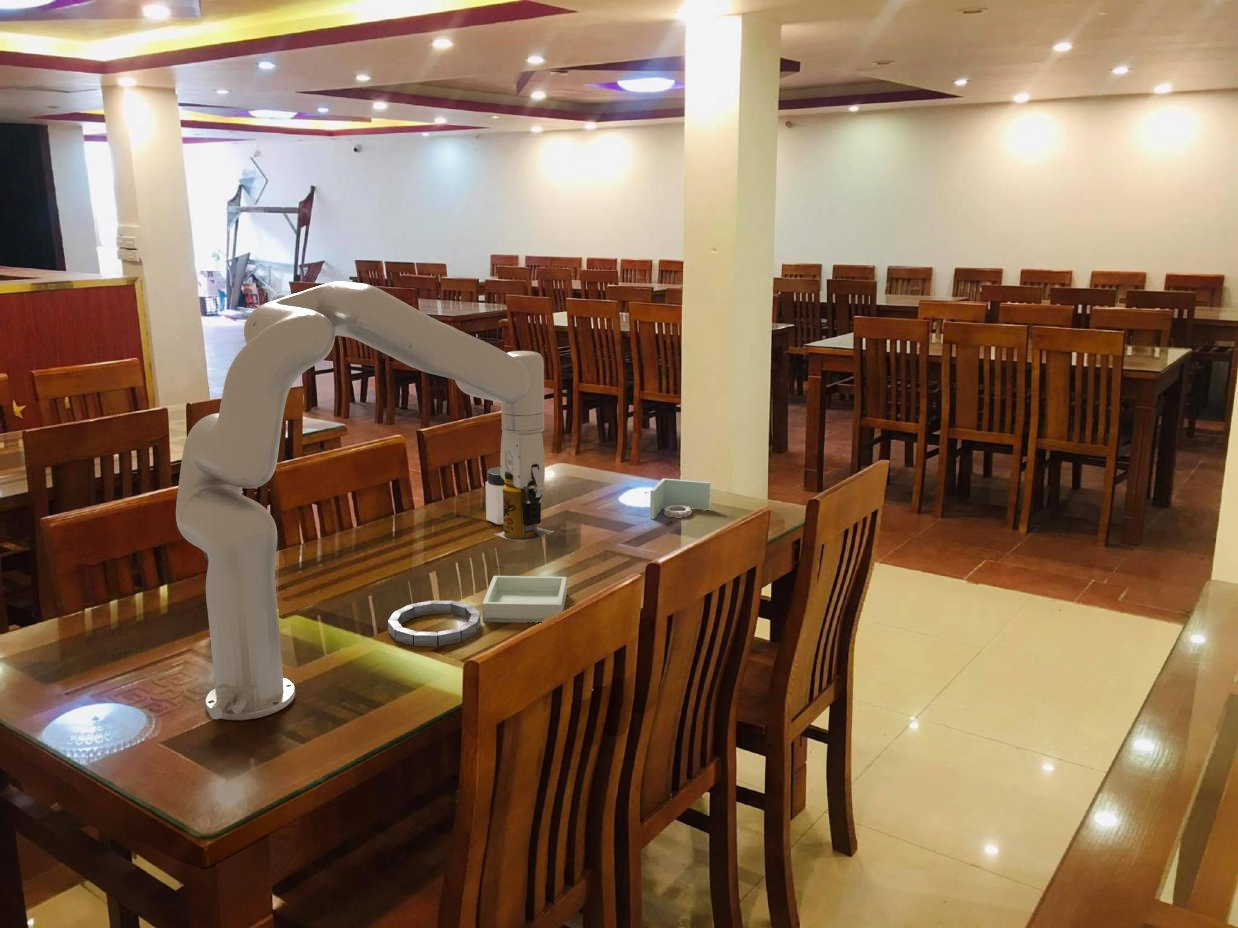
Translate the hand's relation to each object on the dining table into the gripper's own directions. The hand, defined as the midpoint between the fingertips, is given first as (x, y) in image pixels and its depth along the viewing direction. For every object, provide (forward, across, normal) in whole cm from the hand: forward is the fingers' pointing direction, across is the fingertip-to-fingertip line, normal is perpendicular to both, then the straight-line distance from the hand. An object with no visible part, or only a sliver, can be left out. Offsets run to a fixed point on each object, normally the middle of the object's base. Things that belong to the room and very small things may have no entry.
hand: (524, 518), depth 182 cm
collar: (+17, +1, -18) cm, 25 cm away
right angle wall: (+18, -37, +57) cm, 70 cm away
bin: (+17, 0, 0) cm, 17 cm away
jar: (+17, -52, +18) cm, 58 cm away
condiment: (+3, 0, 0) cm, 3 cm away
